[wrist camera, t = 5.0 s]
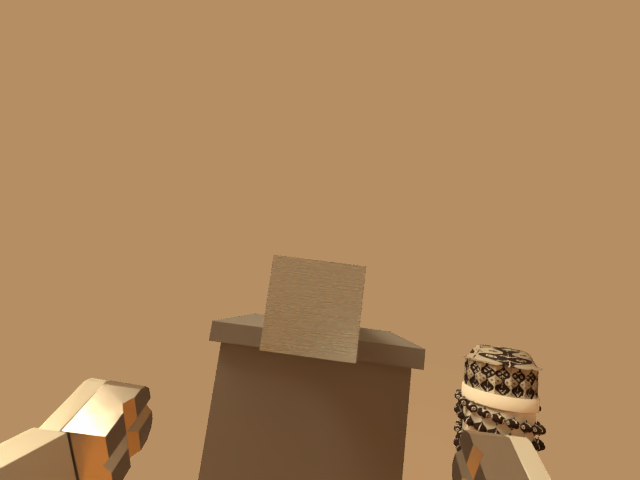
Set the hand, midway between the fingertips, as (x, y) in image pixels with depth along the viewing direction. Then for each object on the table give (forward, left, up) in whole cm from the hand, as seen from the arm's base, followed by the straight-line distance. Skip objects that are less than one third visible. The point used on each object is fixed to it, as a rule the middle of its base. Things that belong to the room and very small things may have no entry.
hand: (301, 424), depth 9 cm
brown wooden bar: (-9, -7, +1) cm, 12 cm away
